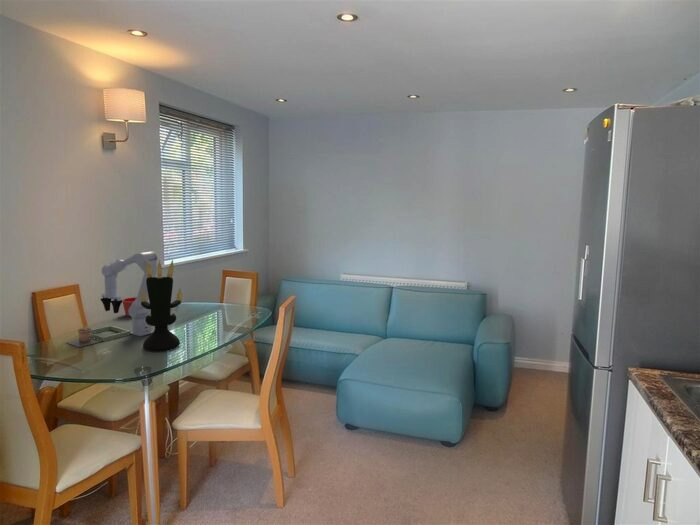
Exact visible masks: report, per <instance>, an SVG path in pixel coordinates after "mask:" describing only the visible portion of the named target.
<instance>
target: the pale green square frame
mask: <svg viewBox="0 0 700 525" xmlns="http://www.w3.org/2000/svg"><path fill="white" fill-rule="evenodd" d="M109 329H111V330H109ZM105 330H107V331H113V332H117V331H118V332H117V333H114V334H110V335H105V336H103V335H99V334H97V333H95V332H99V333H101V332H100V331H103V332H106V331H105ZM120 332H121V333H120ZM131 332H132V331H131V330H128V329H125V328H121V327H119V326H114V325H106V326H103V327H98V328H93V329H91V332H90V336H91V337H92V338H93V339H94V338H95V339H96V340H97V339H98V340H101V342H103V341H104V342H107V341H111V340H115V339H119V338H123V337H126V335H127V336H131V335H132V334H131ZM93 333H94V334H93ZM130 334H131V335H130ZM122 336H123V337H122ZM118 337H119V338H118ZM114 338H115V339H114ZM106 340H107V341H106Z"/></svg>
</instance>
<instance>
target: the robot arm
mask: <svg viewBox="0 0 700 525" xmlns="http://www.w3.org/2000/svg"><path fill="white" fill-rule="evenodd" d="M147 260H148V262H149V264H150V266H151V269H152V277H156V276H157V266H158V262H159V258H158V255H157V254H156V252H155V251H153V250H151V251H145V252H138V253H135V254H133V255H131V256H128V258H127V257H126V259H120V258H118V259H115V261H114V262H111V263H109V265H104V266H102V267H101V274H102V275H103V276H104V277H103V278H104V293H101V298H100V301H101V302H102V304H103V308H104V310H105V312H109V311H111V306H112V310H113V314H118V313H119V311H120V307H121V304H123V302H122V300H123V299H122V296H120V295H119V294H118V284H117V278H118V275H119V273H120V272H122V271H124V270H126V269H127V268H128V266H131V265H133V264H136V265H137V266H138V267H139V269H141V271H143V272H144V273H143V276H142V280H141V283H140V287H139V290H138V291H137V293H138V294H137V299H136V300H135V301H134V302H133V303H132V305H131V306H130V307H129V310H128V312H129V315H130V316H131V317H130V318H131V319H132V320H131V324H132V326H131V327H132V331H131V335H134V336H138V337H143V336H146V335H151V334H152V333H153V332H154V331H152V326H151V325H148V324H147V323H146V321H145V319H146V316H147V315H149V314H150V313H151V309H146V308H144V307H143V306H142V305H141V294H142V292H143V289H144V292H145V294H146V302H148V303H149V304H150V302H149V297H148V291H147V285H146V279H147V278H148V277H147V274H146V264H147Z"/></svg>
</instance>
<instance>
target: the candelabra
mask: <svg viewBox="0 0 700 525" xmlns="http://www.w3.org/2000/svg"><path fill="white" fill-rule="evenodd" d="M146 274H147V277H148V278H147V279H146V285H147V291H148V297H149V298H148V301H149V302H150V304H149V303H148V302H146V294H145V292H144V289H143V292H142V294H141V305H142V306H143V307H144V308H146V309H150V312H149V313H148V315H147V316H146V319H145V321H146V323H147V324H148V325H151V327H154V331H152V332H153V333H150V334H149V335H148V336H147V337H146V338H145V340H144V341H143V344H142V347H143V349H145V351H148V352H155V353H156V352H157V353H158V352H160V351H161V352H167V350H169V351H172V350H175V349H177V348H178V347H179V346H180V344H181V342H180V339H179V338H178V336H176V334H174V333H172V332H171V331H170V330H169V327H168V326H170V325H174V323H175V322H176V321H177V316H176V314H175V313H174V312H172V311H171V309H174V308H177V307H178V306H180V305H181V304H182V303H183V295H182V294H183V293H182V289H181V287H179V289H178V291H177V293H176V300H174V301H172V295H173V294H172V293H173V288H174V287H173V285H174V278H173V275H174V259H172V260H171V263H170V264H169V267H168V269H167V273H166V276H163V267H162V264H161V259H158V262H157V273H156V276H157V277H156V276H155V277H152V269H151V266H150V264H149V262H148V260H147V264H146ZM176 347H177V348H176ZM174 348H175V349H174ZM171 349H172V350H171Z"/></svg>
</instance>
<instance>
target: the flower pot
mask: <svg viewBox="0 0 700 525" xmlns="http://www.w3.org/2000/svg"><path fill="white" fill-rule="evenodd" d="M136 299H137V297H135V296H134V297H126V298H123V299H121V300H122V304H123V310H124V313H125V316H126V315H127V316H126V317H129V316H130V315H129V312H128V310H129V307H130V306H131V305H132V303H133V302H134V301H135V300H136Z"/></svg>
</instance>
